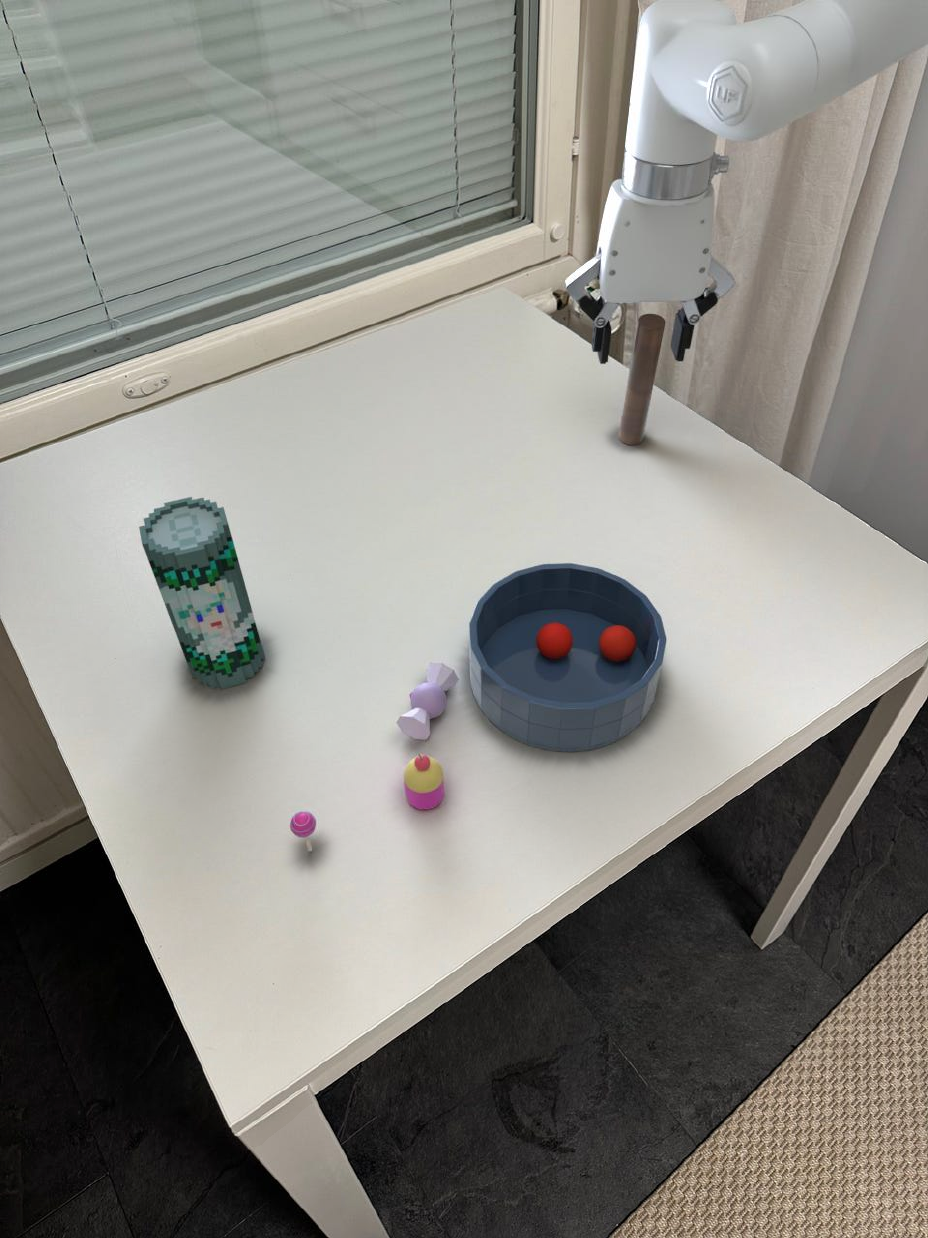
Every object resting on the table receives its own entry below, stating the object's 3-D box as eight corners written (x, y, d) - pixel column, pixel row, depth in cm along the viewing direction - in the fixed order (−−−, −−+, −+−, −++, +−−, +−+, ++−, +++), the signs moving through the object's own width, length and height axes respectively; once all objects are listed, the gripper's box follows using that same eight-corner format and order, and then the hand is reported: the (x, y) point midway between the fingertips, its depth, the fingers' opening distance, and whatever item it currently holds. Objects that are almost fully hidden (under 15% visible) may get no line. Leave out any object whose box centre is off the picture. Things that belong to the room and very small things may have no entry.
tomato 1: (541, 663, 72) (574, 646, 71) (526, 630, 73) (558, 613, 72) (550, 666, 75) (582, 650, 74) (535, 635, 76) (566, 619, 75)
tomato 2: (590, 633, 75) (619, 613, 74) (611, 659, 75) (640, 639, 75) (593, 647, 72) (623, 626, 71) (615, 674, 73) (645, 653, 72)
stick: (643, 430, 96) (665, 314, 85) (642, 446, 95) (665, 329, 84) (618, 428, 96) (638, 312, 86) (617, 443, 95) (637, 327, 84)
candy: (401, 672, 74) (396, 622, 69) (491, 700, 72) (492, 651, 67) (293, 856, 63) (278, 811, 58) (395, 896, 61) (389, 853, 56)
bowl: (638, 605, 79) (646, 560, 75) (671, 748, 68) (683, 704, 64) (466, 611, 79) (466, 566, 75) (474, 755, 68) (473, 712, 64)
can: (196, 696, 73) (145, 563, 61) (185, 643, 76) (136, 509, 65) (270, 675, 74) (233, 541, 63) (256, 625, 78) (218, 490, 67)
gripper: (754, 152, 80) (715, 333, 93) (561, 157, 80) (549, 338, 93) (777, 186, 75) (733, 373, 88) (571, 192, 74) (557, 378, 88)
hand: (639, 354), depth 90 cm, fingers open, 7 cm apart
